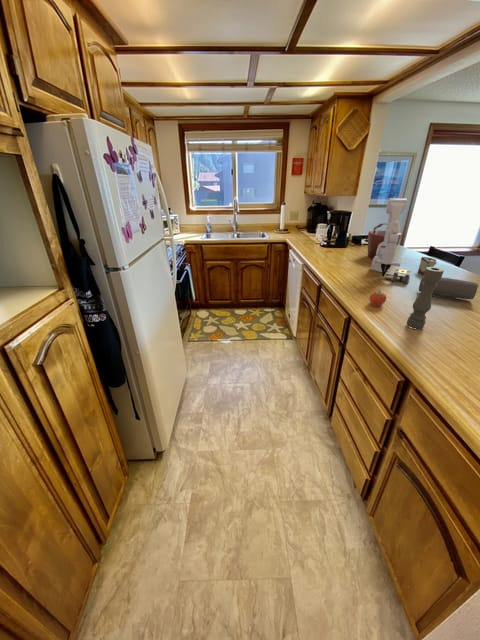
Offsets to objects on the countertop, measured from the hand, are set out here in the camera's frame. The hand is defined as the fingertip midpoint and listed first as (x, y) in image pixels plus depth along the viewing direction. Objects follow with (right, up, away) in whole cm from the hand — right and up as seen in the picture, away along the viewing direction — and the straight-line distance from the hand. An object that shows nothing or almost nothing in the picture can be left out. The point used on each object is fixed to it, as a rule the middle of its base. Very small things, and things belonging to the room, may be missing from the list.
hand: (383, 275), depth 163 cm
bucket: (+20, +21, +41) cm, 51 cm away
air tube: (+6, -3, -3) cm, 8 cm away
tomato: (-22, -20, -33) cm, 44 cm away
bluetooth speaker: (+18, -15, -25) cm, 34 cm away
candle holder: (-15, -30, -52) cm, 62 cm away
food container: (+30, +1, +5) cm, 31 cm away
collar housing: (+8, -4, -4) cm, 10 cm away
